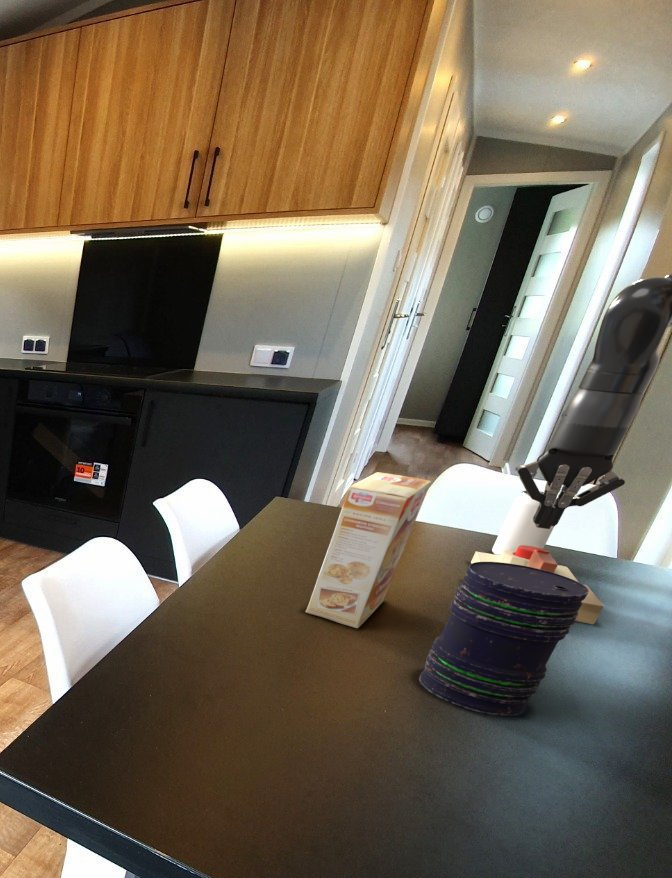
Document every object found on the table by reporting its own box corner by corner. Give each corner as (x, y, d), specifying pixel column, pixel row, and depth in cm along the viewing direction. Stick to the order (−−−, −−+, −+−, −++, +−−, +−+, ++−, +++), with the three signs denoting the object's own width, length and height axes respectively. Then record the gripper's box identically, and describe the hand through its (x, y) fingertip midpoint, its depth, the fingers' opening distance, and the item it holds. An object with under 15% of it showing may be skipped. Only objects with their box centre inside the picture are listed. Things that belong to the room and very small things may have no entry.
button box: (561, 578, 110) (572, 556, 108) (572, 595, 103) (584, 572, 101) (470, 562, 116) (479, 542, 114) (476, 577, 110) (486, 555, 108)
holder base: (577, 600, 101) (586, 582, 100) (594, 626, 93) (605, 606, 91) (463, 579, 108) (470, 562, 107) (470, 601, 100) (478, 583, 99)
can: (488, 548, 124) (515, 488, 118) (533, 555, 120) (563, 493, 115) (493, 557, 119) (522, 495, 114) (540, 565, 115) (572, 501, 110)
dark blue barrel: (399, 679, 78) (448, 567, 72) (446, 664, 82) (496, 556, 75) (497, 724, 70) (562, 602, 63) (544, 705, 73) (610, 588, 67)
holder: (544, 592, 96) (558, 563, 94) (529, 589, 97) (544, 560, 95) (535, 578, 101) (548, 550, 100) (521, 575, 102) (535, 548, 100)
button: (540, 557, 109) (545, 548, 108) (544, 563, 106) (549, 554, 105) (512, 553, 110) (516, 543, 110) (515, 559, 108) (520, 549, 107)
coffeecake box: (358, 629, 90) (410, 496, 82) (302, 612, 95) (346, 485, 87) (385, 601, 99) (434, 479, 91) (333, 587, 104) (375, 470, 96)
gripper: (541, 419, 99) (493, 524, 106) (665, 429, 92) (604, 541, 99) (532, 413, 105) (486, 514, 112) (648, 423, 98) (591, 530, 105)
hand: (542, 527), depth 106 cm, fingers closed
